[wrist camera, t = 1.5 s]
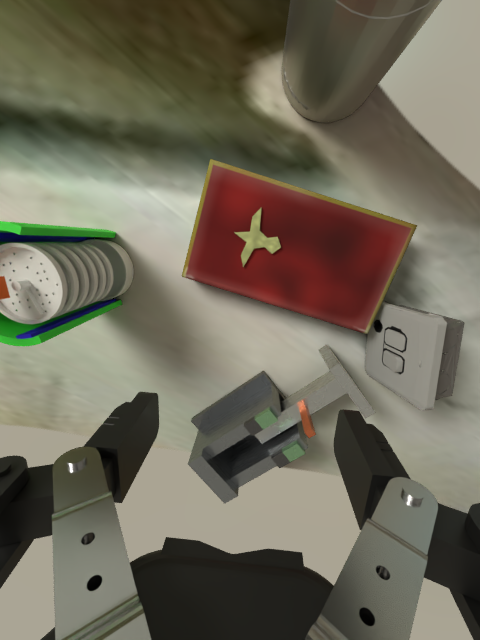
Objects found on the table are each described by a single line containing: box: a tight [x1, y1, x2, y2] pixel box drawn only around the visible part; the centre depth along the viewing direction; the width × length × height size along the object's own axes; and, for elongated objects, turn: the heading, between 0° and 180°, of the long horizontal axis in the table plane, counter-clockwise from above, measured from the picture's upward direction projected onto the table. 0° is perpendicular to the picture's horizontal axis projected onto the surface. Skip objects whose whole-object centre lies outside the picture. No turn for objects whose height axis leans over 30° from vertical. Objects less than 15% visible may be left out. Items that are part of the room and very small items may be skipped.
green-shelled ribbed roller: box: [0, 221, 134, 346], centre depth 26 cm, size 9×8×18 cm
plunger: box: [255, 345, 375, 444], centre depth 33 cm, size 13×7×8 cm, turn 127°
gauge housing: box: [188, 371, 308, 503], centre depth 35 cm, size 12×10×7 cm
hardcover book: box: [182, 159, 417, 334], centre depth 31 cm, size 12×21×4 cm, turn 73°
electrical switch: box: [365, 301, 464, 410], centre depth 30 cm, size 9×5×9 cm, turn 2°
